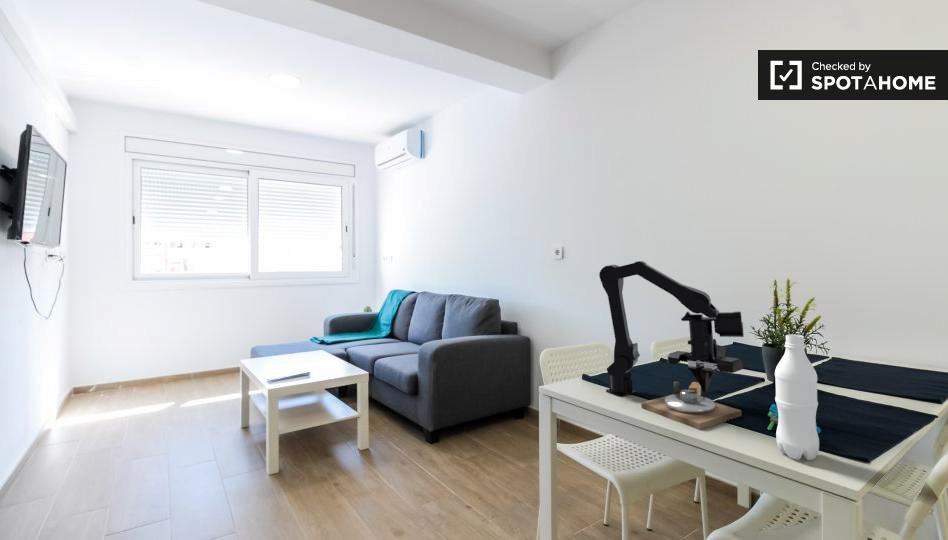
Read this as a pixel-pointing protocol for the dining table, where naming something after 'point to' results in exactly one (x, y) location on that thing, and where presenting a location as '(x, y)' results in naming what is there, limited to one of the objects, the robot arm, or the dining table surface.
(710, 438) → the dining table surface
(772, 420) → the green blue toy figure
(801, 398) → the water bottle
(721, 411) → the base board
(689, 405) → the flange
